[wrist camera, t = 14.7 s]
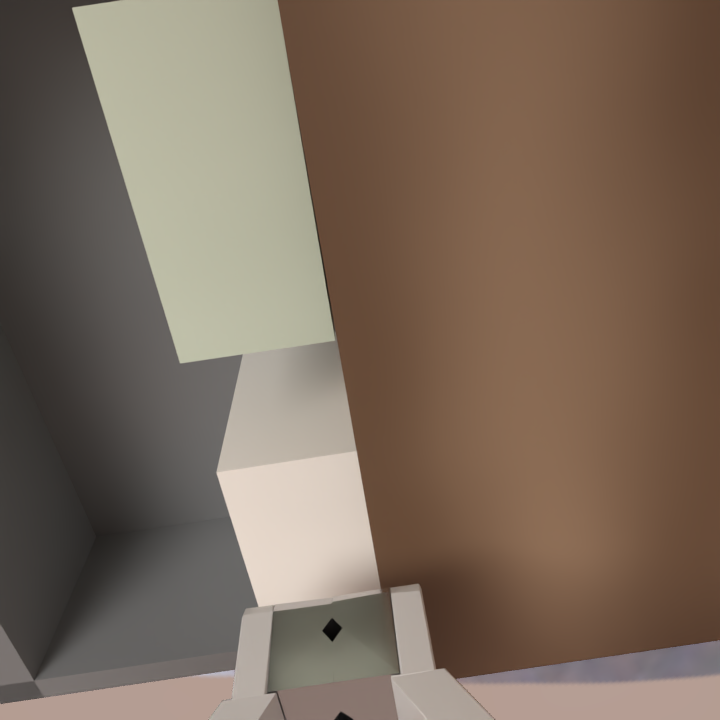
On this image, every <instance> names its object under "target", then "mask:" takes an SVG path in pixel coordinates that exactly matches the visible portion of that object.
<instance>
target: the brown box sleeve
mask: <svg viewBox="0 0 720 720" xmlns="http://www.w3.org/2000/svg"><path fill="white" fill-rule="evenodd" d="M278 6H279V12H280V17H281V23H282V29H283V34H284V40H285V46H286V52H287V57H288V63H289V69H290V74H291V80H292V86H293V91H294V97H295V103H296V109H297V114H298V120H299V126H300V131H301V137H302V143H303V148H304V154H305V160H306V165H307V171H308V177H309V183H310V188H311V194H312V200H313V205H314V211H315V217H316V222H317V228H318V234H319V240H320V245H321V251H322V257H323V262H324V268H325V274H326V279H327V285H328V291H329V296H330V302H331V308H332V314H333V319H334V325H335V331H336V336H337V342H338V348H339V353H340V359H341V365H342V371H343V376H344V382H345V388H346V393H347V399H348V405H349V410H350V416H351V422H352V427H353V433H354V439H355V445H356V450H357V456H358V462H359V467H360V473H361V479H362V484H363V490H364V496H365V502H366V507H367V513H368V519H369V524H370V530H371V536H372V541H373V547H374V553H375V558H376V564H377V570H378V576H379V581H380V587H381V589H384V588H392V587H399V586H406V585H412V584H419V585H420V587H421V590H422V595H423V601H424V606H425V611H426V617H427V622H428V628H429V633H430V639H431V644H432V649H433V655H434V660H435V666H436V669H443V668H445V669H446V670H447V671H448V672H449V673H450V674H451V675H452V676H453V677H454V678H455V679H457V678H464V677H471V676H478V675H485V674H492V673H498V672H505V671H512V670H519V669H526V668H533V667H540V666H546V665H553V664H560V663H567V662H574V661H581V660H588V659H594V658H601V657H608V656H615V655H622V654H629V653H635V652H642V651H649V650H656V649H663V648H670V647H677V646H683V645H690V644H697V643H704V642H711V641H718V640H720V0H278ZM390 594H391V592H390ZM391 600H392V599H391Z"/></svg>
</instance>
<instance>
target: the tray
mask: <svg viewBox="0 0 720 720" xmlns="http://www.w3.org/2000/svg"><path fill="white" fill-rule="evenodd" d="M113 1H120V0H0V703H1V704H3V703H10V702H17V701H23V700H31V699H37V698H44V697H50V696H58V695H65V694H71V693H78V692H84V691H92V690H99V689H105V688H112V687H119V686H125V685H133V684H139V683H146V682H153V681H160V680H167V679H174V678H180V677H187V676H194V675H201V674H208V673H214V672H221V671H228V670H235V668H236V660H237V652H238V645H239V637H240V629H241V622H242V616H243V614H244V612H245V609H246V608H254V607H258V603H257V600H256V597H255V594H254V591H253V588H252V584H251V581H250V578H249V575H248V572H247V568H246V565H245V562H244V559H243V556H242V553H241V549H240V546H239V543H238V540H237V537H236V533H235V530H234V527H233V524H232V521H231V518H230V514H229V511H228V508H227V505H226V502H225V499H224V495H223V492H222V489H221V486H220V483H219V479H218V476H217V473H216V472H217V467H218V463H219V459H220V454H221V450H222V445H223V441H224V436H225V432H226V427H227V423H228V419H229V414H230V410H231V405H232V401H233V396H234V392H235V387H236V383H237V379H238V374H239V370H240V365H241V361H242V356H243V354H241V355H235V356H228V357H221V358H214V359H207V360H201V361H194V362H187V363H180V361H179V358H178V355H177V352H176V348H175V345H174V342H173V339H172V335H171V332H170V329H169V325H168V322H167V319H166V316H165V312H164V309H163V306H162V302H161V299H160V296H159V293H158V289H157V286H156V283H155V279H154V276H153V273H152V270H151V266H150V263H149V260H148V256H147V253H146V250H145V247H144V243H143V240H142V237H141V234H140V230H139V227H138V224H137V220H136V217H135V214H134V211H133V207H132V204H131V201H130V197H129V194H128V191H127V188H126V184H125V181H124V178H123V174H122V171H121V168H120V165H119V161H118V158H117V155H116V151H115V148H114V145H113V142H112V138H111V135H110V132H109V129H108V125H107V122H106V119H105V115H104V112H103V109H102V106H101V102H100V99H99V96H98V92H97V89H96V86H95V83H94V79H93V76H92V73H91V69H90V66H89V63H88V60H87V56H86V53H85V50H84V46H83V43H82V40H81V37H80V33H79V30H78V27H77V23H76V20H75V17H74V14H73V10H72V8H74V7H80V6H87V5H93V4H100V3H107V2H113ZM334 327H335V325H334ZM335 332H336V331H335Z"/></svg>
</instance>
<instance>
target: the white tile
mask: <svg viewBox="0 0 720 720" xmlns="http://www.w3.org/2000/svg"><path fill="white" fill-rule="evenodd" d="M216 473H217V476H218V479H219V483H220V486H221V489H222V492H223V495H224V499H225V502H226V505H227V508H228V511H229V514H230V518H231V521H232V524H233V527H234V530H235V533H236V537H237V540H238V543H239V546H240V549H241V553H242V556H243V559H244V562H245V565H246V568H247V572H248V575H249V578H250V581H251V584H252V588H253V591H254V594H255V597H256V600H257V603H258V607H262V606H270V605H275V604H283V603H291V602H300V601H308V600H316V599H325V598H333V597H334V596H340V595H346V594H352V593H359V592H365V591H371V590H377V589H381V587H380V581H379V576H378V570H377V564H376V558H375V553H374V547H373V541H372V536H371V530H370V524H369V519H368V513H367V507H366V502H365V496H364V490H363V484H362V479H361V473H360V467H359V462H358V456H357V450H356V445H355V439H354V433H353V427H352V422H351V416H350V410H349V405H348V399H347V393H346V388H345V382H344V376H343V371H342V365H341V359H340V353H339V348H338V342H337V336H336V332H335V341H330V342H323V343H316V344H310V345H303V346H296V347H289V348H282V349H276V350H269V351H262V352H255V353H248V354H243V356H242V361H241V365H240V370H239V374H238V379H237V383H236V387H235V392H234V396H233V401H232V405H231V410H230V414H229V419H228V423H227V427H226V432H225V436H224V441H223V445H222V450H221V454H220V459H219V463H218V467H217V472H216Z"/></svg>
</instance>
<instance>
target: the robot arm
mask: <svg viewBox="0 0 720 720" xmlns="http://www.w3.org/2000/svg"><path fill="white" fill-rule="evenodd" d="M390 592H391V594H390ZM391 599H392V600H391ZM208 720H495V719H494V718H493V717H492V716H491V715H490V714H489V713H488V712H487V711H486V710H485V709H484V708H483V707H482V706H481V704H480V703H479V702H478V701H477V700H476V699H475V698H474V697H473V696H472V695H471V694H470V693H469V692H468V691H467V690H466V689H465V688H464V687H463V686H462V685H461V684H460V683H459V682H458V681H457V680H456V679H455V678H454V677H453V676H452V675H451V674H450V673H449V672H448V671H447V670H446V669H445V668H443V669H436V666H435V660H434V655H433V649H432V644H431V639H430V633H429V628H428V622H427V617H426V611H425V606H424V601H423V595H422V590H421V587H420V585H419V584H412V585H406V586H399V587H392V588H384V589H377V590H371V591H365V592H359V593H352V594H346V595H340V596H334V597H333V598H325V599H316V600H308V601H300V602H291V603H283V604H275V605H270V606H262V607H254V608H246V609H245V612H244V614H243V616H242V622H241V629H240V637H239V645H238V652H237V660H236V668H235V675H234V683H233V691H232V699H228V700H223V701H222V702H221V703H220V705H219V706H218V707H217V709H216V710H215V711H214V713H213V714H212V715H211V717H210V718H209V719H208Z"/></svg>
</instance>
